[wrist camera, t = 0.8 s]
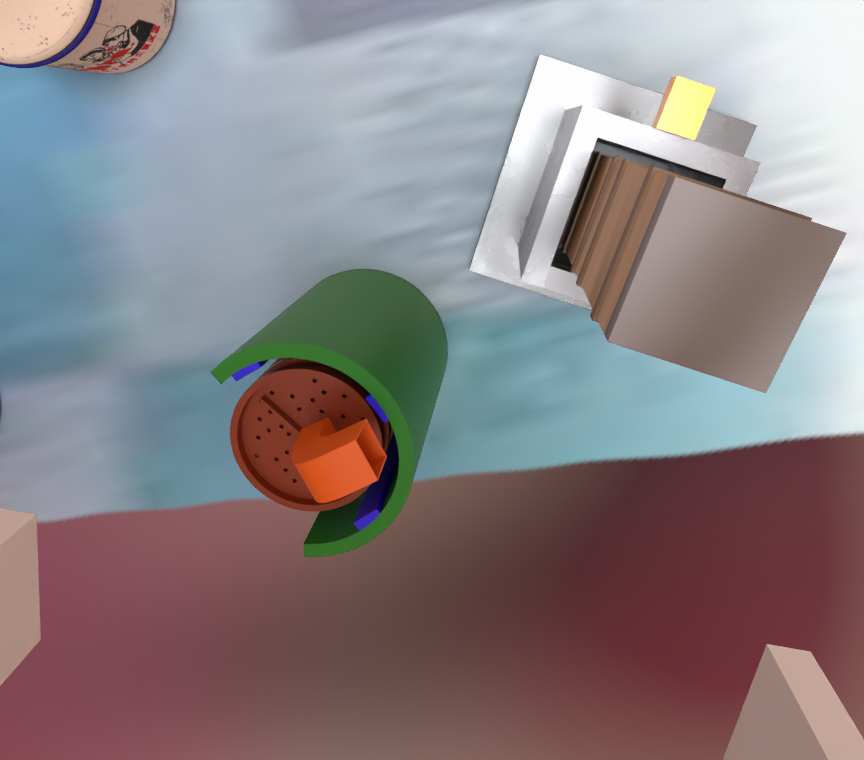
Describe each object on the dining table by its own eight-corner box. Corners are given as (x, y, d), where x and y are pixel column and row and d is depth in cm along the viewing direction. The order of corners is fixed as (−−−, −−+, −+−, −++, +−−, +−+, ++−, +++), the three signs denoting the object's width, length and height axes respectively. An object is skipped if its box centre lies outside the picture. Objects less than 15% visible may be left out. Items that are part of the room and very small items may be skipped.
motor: (270, 318, 46) (108, 450, 27) (381, 235, 44) (287, 317, 25) (368, 441, 48) (280, 641, 30) (479, 368, 46) (460, 535, 27)
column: (552, 229, 41) (602, 344, 19) (582, 147, 39) (673, 171, 18) (630, 255, 41) (767, 397, 19) (663, 173, 39) (852, 230, 18)
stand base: (470, 265, 44) (457, 314, 32) (538, 56, 40) (551, 28, 28) (660, 327, 44) (714, 398, 33) (748, 125, 40) (845, 124, 28)
